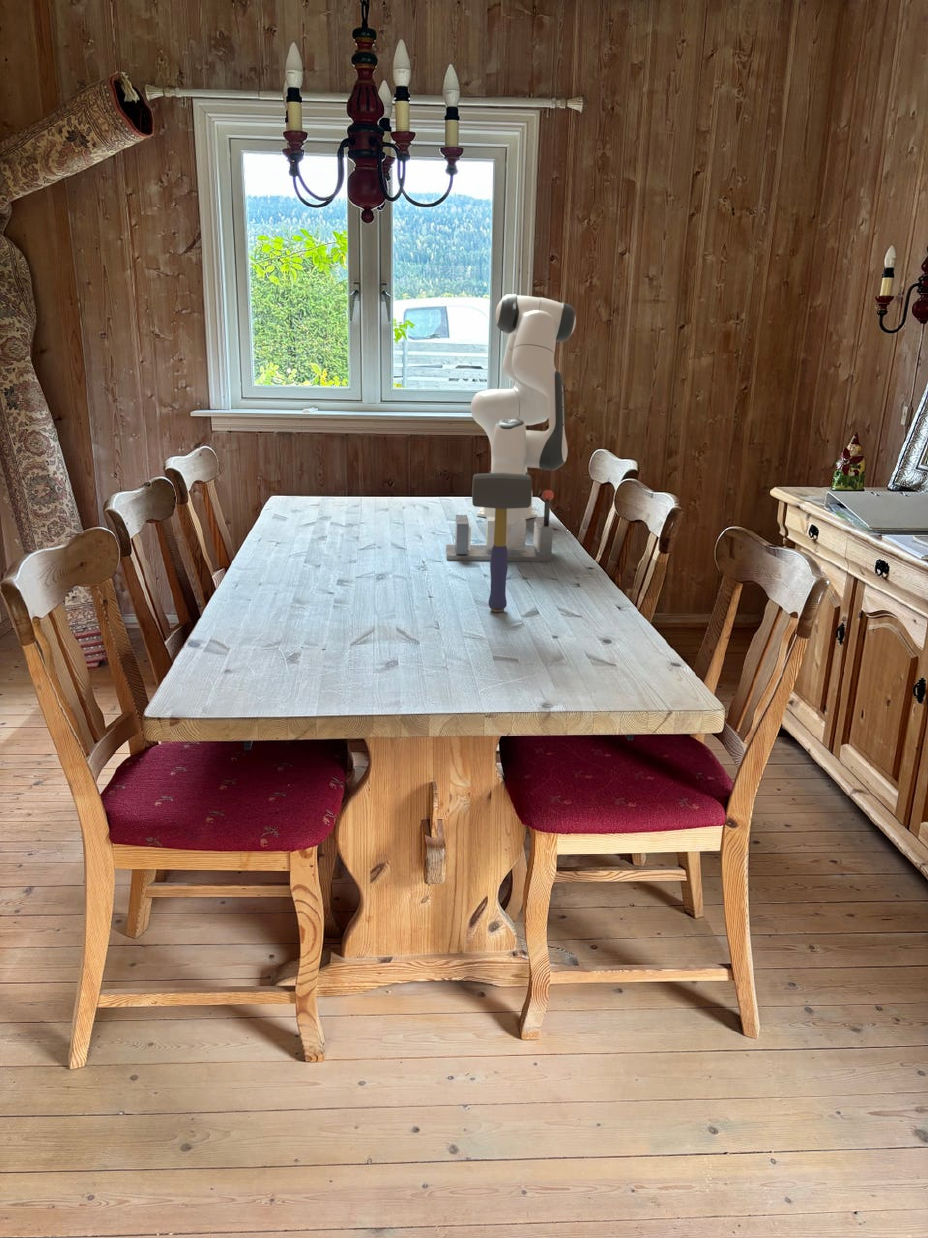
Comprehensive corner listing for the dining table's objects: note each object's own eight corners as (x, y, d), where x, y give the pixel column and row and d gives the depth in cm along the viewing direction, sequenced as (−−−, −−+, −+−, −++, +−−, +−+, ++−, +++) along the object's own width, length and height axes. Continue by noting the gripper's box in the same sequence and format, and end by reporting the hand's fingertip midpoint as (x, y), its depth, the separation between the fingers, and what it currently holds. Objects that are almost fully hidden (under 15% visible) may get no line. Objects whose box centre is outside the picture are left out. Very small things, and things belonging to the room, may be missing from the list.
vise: (446, 548, 264) (447, 481, 259) (545, 550, 265) (549, 482, 260) (446, 560, 253) (448, 489, 247) (551, 561, 254) (554, 491, 248)
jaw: (455, 544, 263) (455, 514, 261) (468, 544, 264) (469, 514, 261) (456, 554, 253) (457, 523, 251) (470, 554, 253) (471, 523, 251)
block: (485, 542, 261) (486, 516, 259) (523, 543, 261) (524, 517, 259) (487, 547, 256) (487, 521, 254) (525, 547, 256) (526, 521, 254)
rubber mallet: (468, 615, 209) (472, 475, 200) (468, 605, 216) (472, 469, 207) (527, 616, 209) (533, 476, 200) (524, 606, 216) (531, 470, 207)
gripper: (493, 476, 263) (491, 526, 267) (498, 490, 244) (496, 544, 248) (516, 476, 263) (514, 527, 268) (523, 490, 244) (521, 545, 248)
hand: (505, 535), depth 258 cm, fingers closed on block, 5 cm apart
